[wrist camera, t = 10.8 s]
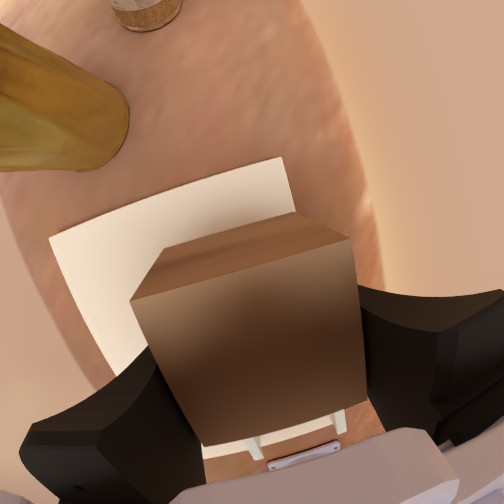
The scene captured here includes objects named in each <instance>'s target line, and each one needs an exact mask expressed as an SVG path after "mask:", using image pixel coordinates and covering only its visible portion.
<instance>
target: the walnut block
mask: <svg viewBox="0 0 504 504" xmlns="http://www.w3.org/2000/svg"><path fill="white" fill-rule="evenodd" d="M129 303H130V305H131V307H132V310H133V312H134V314H135V317H136V319H137V321H138V324H139V326H140V328H141V330H142V333H143V335H144V337H145V339H146V341H147V344H148V346H149V348H150V350H151V352H152V354H153V356H154V358H155V360H156V362H157V364H158V366H159V368H160V370H161V372H162V374H163V376H164V378H165V380H166V382H167V384H168V386H169V388H170V390H171V392H172V393H173V395H174V397H175V399H176V401H177V403H178V404H179V406H180V408H181V410H182V411H183V413H184V415H185V417H186V418H187V420H188V422H189V424H190V425H191V427H192V429H193V430H194V432H195V434H196V435H197V437H198V438H199V440H200V442H201V443H202V445H203V446H204V447H209V446H215V445H220V444H225V443H230V442H235V441H239V440H244V439H248V438H252V437H256V436H260V435H264V434H268V433H272V432H276V431H279V430H283V429H286V428H290V427H293V426H296V425H300V424H303V423H306V422H309V421H312V420H315V419H318V418H321V417H324V416H327V415H330V414H332V413H335V412H338V411H340V410H343V409H346V408H348V407H351V406H353V405H356V404H358V403H361V402H363V401H366V400H367V383H366V366H365V352H364V340H363V329H362V319H361V310H360V302H359V293H358V286H357V278H356V271H355V264H354V258H353V252H352V245H351V239H350V238H348V237H346V236H344V235H342V234H340V233H338V232H336V231H334V230H332V229H330V228H328V227H326V226H324V225H321V224H319V223H317V222H315V221H313V220H311V219H309V218H307V217H304V216H302V215H300V214H298V213H296V212H290V213H287V214H283V215H279V216H275V217H272V218H268V219H264V220H261V221H257V222H254V223H250V224H246V225H243V226H239V227H236V228H232V229H229V230H225V231H222V232H218V233H215V234H211V235H208V236H204V237H201V238H197V239H194V240H190V241H187V242H184V243H180V244H177V245H173V246H170V247H167V248H164V249H163V250H162V252H161V253H160V255H159V256H158V258H157V259H156V261H155V262H154V264H153V265H152V267H151V268H150V270H149V271H148V273H147V274H146V276H145V277H144V279H143V280H142V282H141V283H140V285H139V287H138V288H137V290H136V291H135V293H134V294H133V296H132V298H131V299H130V301H129Z"/></svg>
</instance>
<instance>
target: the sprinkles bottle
mask: <svg viewBox="0 0 504 504" xmlns="http://www.w3.org/2000/svg"><path fill="white" fill-rule="evenodd" d="M106 1H107V2H108V3H109V4H110V5H111V6H112V8H113V10H114V11H115V12H116V15H117V19H118V21H119V22H120V24H121V25H122V26H123V27H125V28H127V29H129V30H132V31H138V32H142V31H149V30H154V29H157V28H160V27H162V26H163V25H165V24H166V23H168V22H170V21H171V20H172V19H173V18H174V17H175V16H176V15H177V13H178V12H179V10H180V7H181V4H182V0H106Z"/></svg>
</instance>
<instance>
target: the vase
mask: <svg viewBox="0 0 504 504" xmlns="http://www.w3.org/2000/svg"><path fill="white" fill-rule="evenodd" d="M128 121H129V110H128V106H127V104H126V101H125V99H124V97H123V95H122V93H121V92H120V91H119V90H118V89H117V88H116V87H114V86H113V85H111V84H110V83H108V82H106V81H101V80H99V79H98V78H96V77H95V76H94V75H92V74H91V73H89V72H87V71H85V70H84V69H82V68H80V67H78V66H77V65H75V64H73V63H72V62H70V61H68V60H67V59H65V58H63V57H61V56H59V55H57V54H55V53H54V52H52V51H50V50H48V49H46V48H43V47H41V46H39V45H37V44H35V43H33V42H32V41H30V40H28V39H26V38H24V37H23V36H21V35H19V34H18V33H16V32H14V31H13V30H11V29H9V28H8V27H6V26H4V25H2V24H1V23H0V173H1V172H15V171H40V170H73V171H76V172H82V171H88V170H93V169H96V168H98V167H100V166H102V165H103V164H105V163H106V162H108V161H109V160H110V159H111V158H112V157H113V156H114V155H115V154H116V153H117V151H118V150H119V148H120V147H121V145H122V143H123V141H124V139H125V136H126V133H127V129H128Z"/></svg>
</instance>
